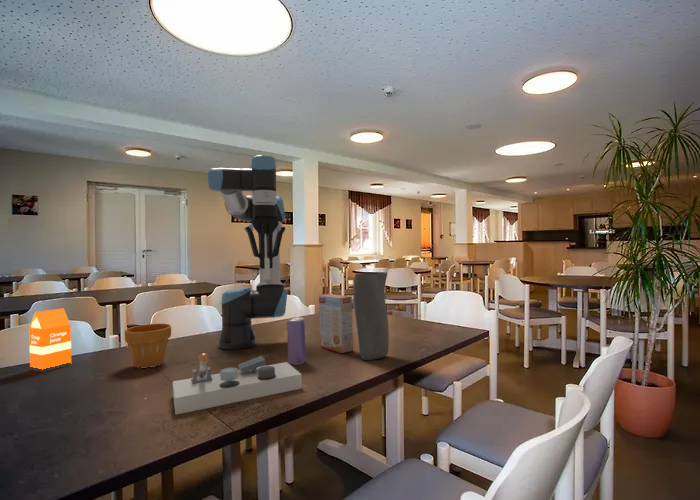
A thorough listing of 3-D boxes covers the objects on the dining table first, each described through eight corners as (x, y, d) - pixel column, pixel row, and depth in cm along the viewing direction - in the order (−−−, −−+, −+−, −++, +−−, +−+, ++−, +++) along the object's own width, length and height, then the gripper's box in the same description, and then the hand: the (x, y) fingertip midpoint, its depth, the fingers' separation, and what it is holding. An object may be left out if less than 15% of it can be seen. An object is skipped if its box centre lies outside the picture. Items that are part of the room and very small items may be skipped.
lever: (196, 373, 100) (198, 351, 94) (206, 371, 101) (208, 350, 96) (197, 382, 99) (199, 360, 93) (207, 380, 100) (210, 358, 94)
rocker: (238, 369, 107) (237, 364, 107) (262, 360, 110) (261, 355, 110) (242, 373, 103) (241, 368, 103) (266, 364, 106) (265, 359, 106)
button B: (219, 376, 98) (219, 369, 98) (236, 373, 100) (236, 366, 100) (221, 382, 94) (221, 374, 94) (239, 378, 96) (239, 371, 96)
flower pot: (178, 363, 129) (177, 326, 129) (133, 374, 118) (132, 334, 118) (163, 356, 138) (162, 321, 138) (120, 365, 128) (119, 328, 128)
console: (173, 396, 100) (172, 370, 100) (287, 374, 115) (286, 352, 115) (175, 414, 88) (174, 385, 88) (301, 388, 103) (301, 363, 103)
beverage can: (302, 365, 124) (301, 320, 124) (285, 364, 125) (284, 320, 125) (307, 360, 130) (306, 317, 130) (291, 359, 131) (290, 317, 131)
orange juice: (71, 365, 130) (70, 308, 130) (42, 373, 122) (40, 312, 122) (59, 362, 133) (57, 307, 133) (29, 370, 125) (28, 311, 125)
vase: (364, 364, 123) (362, 275, 123) (349, 355, 134) (347, 273, 134) (396, 359, 128) (394, 273, 128) (379, 351, 139) (377, 271, 139)
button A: (256, 375, 103) (256, 367, 103) (272, 372, 105) (272, 365, 105) (260, 379, 99) (260, 372, 99) (276, 376, 101) (276, 369, 101)
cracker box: (354, 351, 140) (352, 296, 140) (341, 354, 136) (340, 297, 136) (331, 344, 151) (330, 293, 151) (319, 347, 147) (318, 294, 147)
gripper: (246, 203, 111) (248, 281, 112) (288, 204, 118) (289, 278, 118) (241, 205, 118) (243, 279, 119) (281, 206, 124) (282, 276, 125)
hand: (266, 278), depth 118 cm, fingers closed
